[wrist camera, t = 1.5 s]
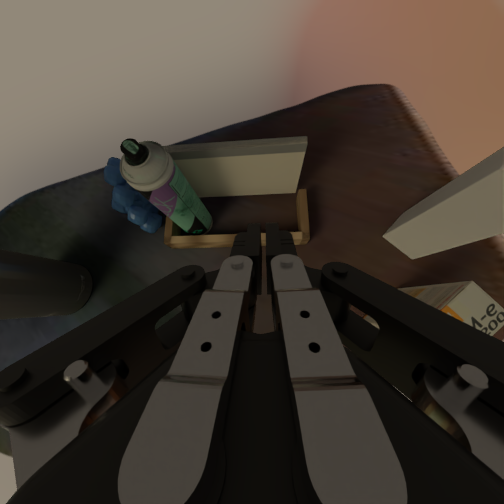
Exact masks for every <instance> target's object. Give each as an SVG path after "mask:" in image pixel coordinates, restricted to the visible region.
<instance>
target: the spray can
mask: <svg viewBox="0 0 504 504" xmlns="http://www.w3.org/2000/svg"><path fill="white" fill-rule="evenodd" d="M120 147H121V151H122V152H123V153H124V155H123V156H122V158H121V161H120V172H121V175H122V176H123V178H124V179H125V180H126V181H127V183H128V184H129V185H130V186H132V187H133V188H134V189H135V190H136V191H138V192H139V193H140V194H141V195H142V196H144V197H145V198H146V199H147V200H148V201H150V202H151V203H152V204H153V205H154V206H156V207H157V208H158V209H159V210H160V211H162V212H163V213H164V214H165V215H166V216H168V217H169V218H170V219H171V220H172V221H174V222H175V223H176V224H177V225H178V226H180V227H181V228H182V229H183V230H184V231H186V232H187V233H188V234H190V235H191V236H195V235H205V234H207V233H208V232H209V231H210V229H211V227H212V224H213V220H212V217H211V215H210V213H209V212H208V210H207V209H206V207H205V206H204V204H203V203H202V202H201V200H200V199H199V197H198V196H197V194H196V193H195V191H194V190H193V188H192V187H191V185H190V184H189V182H188V181H187V179H186V178H185V176H184V175H183V173H182V172H181V171H180V169H179V168H178V166H177V165H176V163H175V162H174V160H173V159H172V157H171V156H170V154H169V153H168V152H167V151H166V150H165V149H164V147H163V146H161V145H160V144H158V143H156V142H152V141H144V142H139V143H138V142H137V141H136V140H135V139H126V140H124V141H123V142H122V144H121V146H120Z"/></svg>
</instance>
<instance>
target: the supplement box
mask: <svg viewBox="0 0 504 504" xmlns="http://www.w3.org/2000/svg"><path fill="white" fill-rule="evenodd" d="M398 290H400V291H402V292H404V293H406V294H408V295H410V296H412V297H414V298H416V299H418V300H420V301H422V302H424V303H426V304H428V305H430V306H432V307H434V308H436V309H438V310H440V311H442V312H444V313H446V314H448V315H450V316H452V317H454V318H456V319H458V320H460V321H462V322H464V323H466V324H468V325H470V326H472V327H474V328H476V329H478V330H480V331H482V332H484V333H486V334H488V335H490V336H493V335H494V334H495V333H496V332H497V331H498V330H499V329H500V328H501V327H502V326H503V325H504V309H503V308H502V307H501V306H500V305H499V304H498V303H497V302H495V301H494V300H493V299H492V298H491V297H490V296H489V295H488V294H487V293H485V292H484V291H483V290H482V289H481V288H480V287H479V286H478V285H477V284H475V283H474V282H473V281H465V282H456V283H446V284H437V285H427V286H417V287H408V288H398ZM363 319H365V320H366V321H368V322H369V323H371V324H372V325H374V326H375V327H377V328H378V329H379V326H378V324H377V322H376V321H375V320H374V319H373V318H371V317H370V316H368V315H367V314H366V315H365V316H364V317H363Z"/></svg>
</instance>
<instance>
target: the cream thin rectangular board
mask: <svg viewBox="0 0 504 504" xmlns="http://www.w3.org/2000/svg"><path fill="white" fill-rule="evenodd" d="M307 144H308V143H307V136H301V137H287V138H273V139H258V140H244V141H229V142H215V143H200V144H186V145H171V146H163V147H164V149H165V150H166V151H167V152H168V153H169V154H170V156H171V157H172V159H173V160H174V162H175V163H176V165H177V166H178V168H179V169H180V171H181V172H182V173H183V175H184V176H185V178H186V179H187V181H188V182H189V184H190V185H191V187H192V188H193V190H194V191H195V193H196V194H197V196H198V197H199V198H200V197H220V196H240V195H261V194H281V193H296V189H297V184H298V180H299V176H300V172H301V168H302V164H303V160H304V156H305V152H306V148H307Z"/></svg>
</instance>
